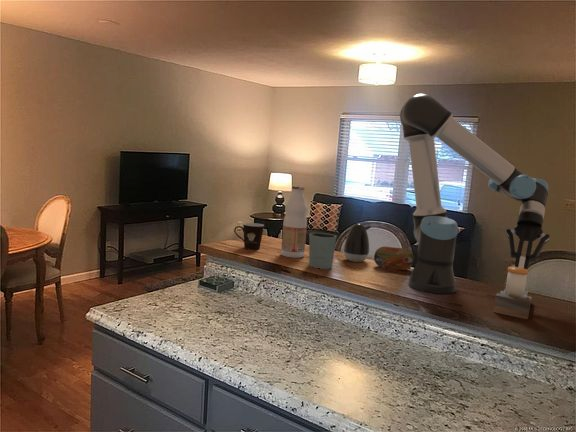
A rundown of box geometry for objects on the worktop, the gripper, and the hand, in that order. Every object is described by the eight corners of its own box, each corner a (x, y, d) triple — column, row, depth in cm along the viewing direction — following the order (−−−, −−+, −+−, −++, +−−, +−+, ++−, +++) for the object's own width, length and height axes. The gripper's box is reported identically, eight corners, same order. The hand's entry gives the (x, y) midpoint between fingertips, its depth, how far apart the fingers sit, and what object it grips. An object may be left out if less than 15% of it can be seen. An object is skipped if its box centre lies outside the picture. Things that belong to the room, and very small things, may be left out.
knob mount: (500, 296, 156) (502, 280, 156) (530, 302, 152) (533, 286, 151) (493, 312, 139) (496, 294, 138) (527, 319, 135) (530, 300, 134)
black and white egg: (373, 263, 191) (377, 225, 189) (350, 263, 187) (354, 225, 185) (360, 257, 200) (364, 221, 198) (338, 257, 196) (341, 221, 194)
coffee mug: (266, 248, 202) (268, 225, 201) (254, 251, 195) (256, 227, 194) (244, 244, 208) (245, 221, 207) (231, 246, 201) (233, 222, 200)
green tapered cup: (318, 270, 171) (321, 237, 170) (301, 264, 179) (303, 232, 178) (339, 268, 177) (342, 236, 176) (321, 262, 185) (324, 231, 184)
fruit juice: (280, 257, 188) (285, 186, 185) (281, 252, 198) (287, 184, 194) (303, 259, 188) (310, 188, 184) (304, 254, 197) (310, 186, 194)
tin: (373, 267, 185) (375, 245, 184) (372, 265, 188) (375, 244, 187) (412, 271, 183) (415, 249, 182) (412, 269, 186) (414, 248, 185)
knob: (503, 299, 145) (508, 265, 144) (523, 302, 143) (528, 268, 141) (502, 303, 141) (507, 268, 139) (522, 307, 138) (527, 272, 137)
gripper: (552, 227, 160) (542, 286, 148) (509, 222, 166) (496, 278, 154) (553, 213, 154) (544, 273, 142) (509, 208, 161) (496, 265, 149)
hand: (519, 275), depth 148 cm, fingers closed
